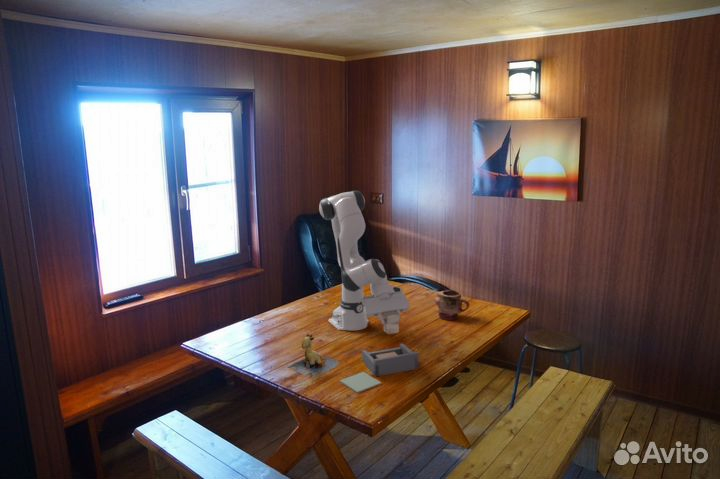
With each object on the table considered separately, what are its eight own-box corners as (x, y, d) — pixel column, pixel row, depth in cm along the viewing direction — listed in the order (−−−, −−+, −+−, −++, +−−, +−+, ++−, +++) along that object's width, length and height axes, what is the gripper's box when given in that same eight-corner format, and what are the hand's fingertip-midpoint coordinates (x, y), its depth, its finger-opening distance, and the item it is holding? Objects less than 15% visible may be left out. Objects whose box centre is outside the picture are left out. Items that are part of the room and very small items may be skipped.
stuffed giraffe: (287, 367, 229) (287, 332, 225) (318, 355, 242) (318, 322, 238) (312, 380, 218) (312, 344, 215) (342, 366, 231) (343, 332, 228)
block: (383, 330, 228) (383, 313, 226) (394, 328, 230) (394, 311, 228) (387, 334, 224) (387, 316, 222) (398, 332, 226) (398, 314, 224)
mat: (339, 381, 215) (339, 380, 215) (363, 373, 222) (363, 371, 221) (357, 393, 205) (357, 391, 205) (381, 383, 212) (381, 382, 212)
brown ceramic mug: (473, 317, 283) (473, 292, 280) (465, 324, 272) (466, 299, 269) (437, 311, 292) (438, 287, 289) (429, 318, 282) (429, 293, 279)
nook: (362, 361, 233) (362, 346, 232) (403, 353, 239) (403, 339, 238) (375, 376, 218) (375, 360, 217) (418, 368, 225) (418, 353, 223)
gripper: (361, 293, 226) (370, 323, 219) (405, 287, 233) (415, 315, 226) (358, 300, 231) (367, 329, 224) (401, 294, 238) (410, 321, 231)
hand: (391, 322), depth 225 cm, fingers closed on block, 5 cm apart
